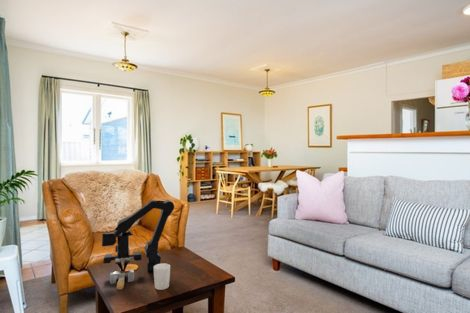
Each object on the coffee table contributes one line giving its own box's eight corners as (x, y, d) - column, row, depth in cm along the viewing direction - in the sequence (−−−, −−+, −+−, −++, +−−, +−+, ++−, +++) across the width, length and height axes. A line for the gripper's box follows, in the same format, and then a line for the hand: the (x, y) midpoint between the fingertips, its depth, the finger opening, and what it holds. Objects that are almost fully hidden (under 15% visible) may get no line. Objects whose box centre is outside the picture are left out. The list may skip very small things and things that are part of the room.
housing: (134, 275, 158) (134, 267, 158) (133, 281, 152) (133, 271, 152) (111, 278, 155) (111, 269, 155) (109, 283, 149) (109, 274, 149)
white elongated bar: (119, 276, 158) (119, 270, 158) (126, 275, 159) (126, 269, 159) (116, 290, 142) (116, 283, 142) (123, 289, 143) (123, 282, 143)
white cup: (155, 283, 150) (155, 263, 150) (171, 282, 151) (171, 263, 150) (152, 290, 142) (152, 269, 142) (169, 290, 143) (169, 269, 142)
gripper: (141, 238, 169) (141, 265, 170) (106, 240, 164) (106, 269, 164) (141, 244, 158) (141, 273, 159) (103, 247, 153) (103, 277, 154)
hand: (123, 273), depth 159 cm, fingers closed, pressing on white elongated bar
